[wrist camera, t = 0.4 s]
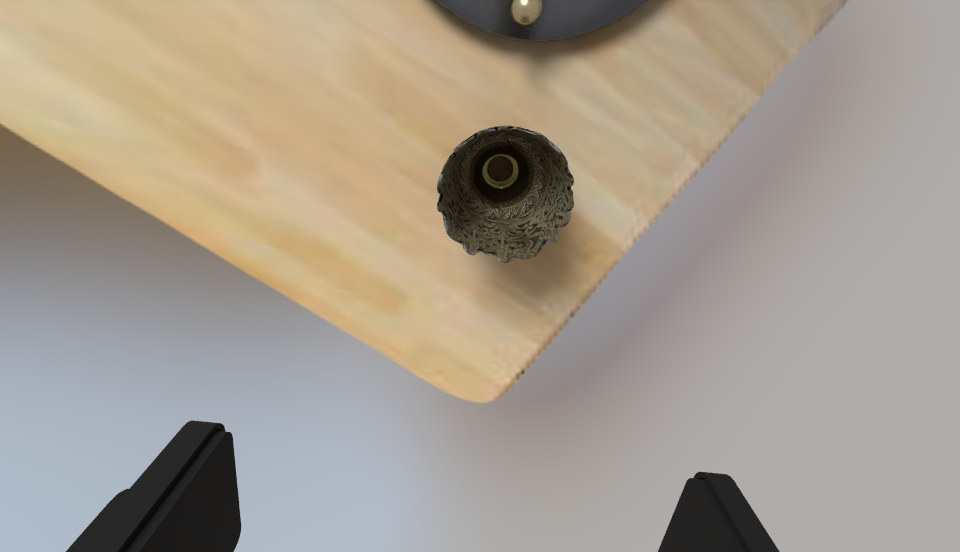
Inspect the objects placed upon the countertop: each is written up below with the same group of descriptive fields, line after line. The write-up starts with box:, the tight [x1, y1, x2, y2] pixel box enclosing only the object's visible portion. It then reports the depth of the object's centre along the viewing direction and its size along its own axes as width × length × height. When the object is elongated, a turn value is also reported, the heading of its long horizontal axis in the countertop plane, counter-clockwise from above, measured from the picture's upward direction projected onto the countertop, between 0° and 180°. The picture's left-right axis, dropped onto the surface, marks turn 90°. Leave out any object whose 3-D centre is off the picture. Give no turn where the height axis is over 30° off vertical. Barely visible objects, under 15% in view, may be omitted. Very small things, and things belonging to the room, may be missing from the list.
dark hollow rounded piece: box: [437, 126, 574, 263], centre depth 28 cm, size 8×7×8 cm
